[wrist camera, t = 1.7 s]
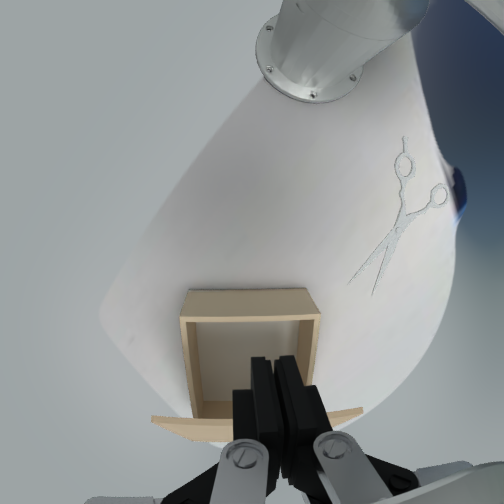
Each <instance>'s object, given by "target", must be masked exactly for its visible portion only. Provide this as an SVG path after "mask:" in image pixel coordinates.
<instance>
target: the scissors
mask: <svg viewBox="0 0 504 504" xmlns="http://www.w3.org/2000/svg"><path fill="white" fill-rule="evenodd" d="M402 140H403V153H401V154H400V155H399V156H398V157H397V158H396V161H395V164H394V166H395V172H396V175H397V177H398V178H399V180H400V183H401V190H400V192H399V196H400V198H401V208H400V211H399V214H398V217H397V220H396V222H395V225H394V228H393V229H392V230H391V231H390V233H389V234H388V235H387V236H386V237H385V239H384V240H383V241H382V242H381V243H380V245H379V246H378V247H377V248H376V249H375V251H374V252H373V253H372V254H371V256H370V257H369V258H368V260H367V261H366V262H365V263H364V265H363V266H362V267H361V268H360V269H359V271H358V272H357V273H356V274H355V275H354V277H353V278H352V279H351V281H352V280H353V279H354V278H355V277H357V276H358V275H359V274H360V273H361V272H362V271H363V270H364V269H365V268H366V267H367V266H368V265H369V264H370V263H371V262H372V261H373V260H374V259H375V258H376V257H377V256H378V255H379V254H380V253H382V252H383V251H384V250H385V249H386V248H387V246H388V248H387V251H386V254H385V257H384V260H383V263H382V266H381V269H380V273H379V276H378V279H377V282H376V285H375V287H374V290H373V292H374V291H375V289H376V287H377V285H378V283H379V281H380V279H381V277H382V275H383V273H384V271H385V269H386V267H387V265H388V263H389V261H390V259H391V257H392V254H393V252H394V250H395V247H396V245H397V243H398V240H399V238H400V236H401V233H402V232H403V231H404V230H405V229H406V228H407V227H408V226H409V224H410V223H411V222H412V221H413V220H414V219H415V218H416V217H417V216H418V215H420V214H425V213H426V211H427V210H428V209H429V208H430V207H435V208H441V207H443V206H445V205H446V204H447V202H448V200H449V188H448V187H447V186H446V185H445V184H438V185H437V186H435V187H434V188H433V189H432V190H431V196H430V202H429V203H428V204H427V206H426V207H425V208H424V209H422V210H420V211H418V212H415V213H410V214H408V215H406V208H405V200H404V190H405V187H406V184H407V182H408V180H410V179H411V178H413V177H414V176H415V172H416V166H415V161H414V159H413V157H412V156H411V155H410V154H409V153H408V148H407V142H408V137H406V136H403V138H402ZM403 157H408V158H409V159H410V161H411V165H412V167H411V171H410V173H409V175H408V176H406V177H404V176H403V175H401V174H400V171H399V163H400V161H401V159H402V158H403ZM442 187H443V188H444V189H445V190H446V193H447V195H446V199H445V201H444V203H442V204H439V205H437V204H436V203H435V201H434V197H435V194H436V192H437V191H438V189H440V188H442ZM351 281H350V282H351ZM350 282H349V283H350ZM349 283H348V284H349ZM372 294H373V293H372Z"/></svg>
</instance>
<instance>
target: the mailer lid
mask: <svg viewBox="0 0 504 504" xmlns="http://www.w3.org/2000/svg"><path fill="white" fill-rule="evenodd" d="M361 414H363V407H359V408H354V409H348V410H341V411H334V412H327V416H328V419H329V421H330V424H331V427H334V426H337V425H339V424H341V423H343V422H346V421H348V420H350V419H352V418H354V417H357V416H359V415H361ZM151 422H152V423H154V424H156V425H158V426H160V427H162V428H165V429H167V430H169V431H171V432H173V433H175V434H178V435H180V436H182V437H184V438H187V439H189V440H191V441H203V442H204V441H205V442H232V441H233V419H196V418H176V417H163V416H152V417H151Z"/></svg>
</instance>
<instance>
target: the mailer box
mask: <svg viewBox="0 0 504 504" xmlns="http://www.w3.org/2000/svg"><path fill="white" fill-rule="evenodd" d="M320 317H321V313H320V312H319V310H318V308H317V306H316V305H315V303H314V301H313V299H312V298H311V296H310V294H309V293H308V291H307V289H306V288H287V289H229V290H189V291H188V293H187V296H186V299H185V302H184V305H183V307H182V310H181V313H180V316H179V319H180V328H181V337H182V345H183V353H184V361H185V368H186V375H187V382H188V389H189V395H190V402H191V408H192V414H193V418H196V419H233V402H232V390H236V389H251V357H263V356H265V359H266V360H271V364H272V369H273V373H274V360H276V359H279V356H284V355H294V356H295V359H296V362H297V366H298V369H299V372H300V375H301V378H302V381H303V384H304V386H309V385H312V378H313V372H314V365H315V357H316V350H317V342H318V334H319V325H320Z"/></svg>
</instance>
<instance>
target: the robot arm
mask: <svg viewBox="0 0 504 504" xmlns="http://www.w3.org/2000/svg"><path fill="white" fill-rule="evenodd" d="M465 1H466V2H467V3H469V4H470V5H471V6H472V7H473V8H475V9H476V10H477V11H478V12H479V13H480V14H482V15H483V16H484V17H485V18H486V19H487V20H489V21H490V22H491V23H492V24H493V25H494V26H495V27H496V28H497V29H498V30H499V31H500V32H502V34H503V35H504V0H465ZM428 6H429V0H283V3H282V6H281V9H280V13H279V14H278V15H276V16H274V17H272V18H271V19H270V20H269V21H268V22H267V23H266V24H265V25H264V26H263V28H262V29H261V30H260V32H259V35H258V38H257V42H256V59H257V63H258V65H259V67H260V70H261V72H262V74H263V75H264V76H265V78H266V79H267V81H269V82H270V83H271V84H272V85H273V86H274V87H275V88H276V89H277V90H279V91H280V92H282V93H283V94H285V95H287V96H289V97H291V98H293V99H296V100H300V101H303V102H309V103H326V102H330V101H334V100H337V99H339V98H341V97H343V96H344V95H346V94H348V93H349V92H350V91H351V90H352V89H353V88H354V87H355V86H356V85H357V83H358V82H359V80H360V77H361V75H362V71H363V64H364V63H366V62H367V61H368V60H370V59H371V58H372V57H374V56H375V55H377V54H378V53H379V52H381V51H382V50H383V49H385V48H386V47H388V46H389V45H390V44H392V43H393V42H395V41H396V40H398V39H399V38H400V37H402V36H403V35H405V34H406V33H408V32H409V31H411V30H412V29H413V28H414V27H416V26H417V25H418V24H419V23H420V22H421V20H422V19H423V18H424V16H425V14H426V12H427V9H428ZM267 30H270V31H267ZM267 70H271V73H269V72H267ZM350 78H351V79H352V81H351V80H350ZM311 94H312V95H313V96H314V98H312V97H311V96H310V95H311ZM232 402H233V441H232V442H230V443H228V444H227V445H226V446H225V447H224V448H223V450H222V452H221V457H220V461H219V462H218V463H217V464H215V465H214V466H212V467H211V468H210V469H208V470H207V471H205V472H204V473H202V474H201V475H199V476H198V477H196V478H195V479H193V480H191V481H190V482H188V483H187V484H185V485H183V486H182V487H180V488H178V489H177V490H175V491H174V492H172V493H170V494H168V495H167V496H166V497H165V498H160V499H154V498H153V497H92V498H91V499H88V500H87V501H86V502H85V503H84V504H265V499H266V497H267V496H268V495H269V494H270V493H271V492H272V491H274V490H275V488H276V481H277V479H278V478H279V472H280V467H281V473H282V477H283V479H285V478H288V482H289V485H293V486H294V487H295V488H296V489H298V490H300V491H301V493H302V497H303V500H304V502H305V504H504V462H502V461H499V462H489V463H484V464H479V465H476V466H473V465H472V464H470V463H469V462H466V461H457V462H453V463H447V464H442V465H437V466H432V467H426V468H419V469H417V470H416V471H415V472H412V471H410V470H408V469H405V468H402V467H399V466H397V465H394V464H391V463H388V462H385V461H382V460H380V459H377V458H374V457H372V456H369V455H367V454H364V452H363V451H362V449H361V448H360V446H359V445H358V443H357V442H356V440H355V439H354V438H353V437H352V436H351V435H349V434H347V433H345V432H341V431H333V429H332V427H331V424H330V421H329V419H328V416H327V413H326V411H325V408H324V405H323V403H322V400H321V397H320V395H319V392H318V389H317V387H316V386H315V385H309V386H304V384H303V381H302V378H301V375H300V372H299V369H298V366H297V362H296V359H295V356H294V355H284V356H279V359H276V360H274V373H273V369H272V364H271V360H266V359H265V356H263V357H251V389H236V390H232Z"/></svg>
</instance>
